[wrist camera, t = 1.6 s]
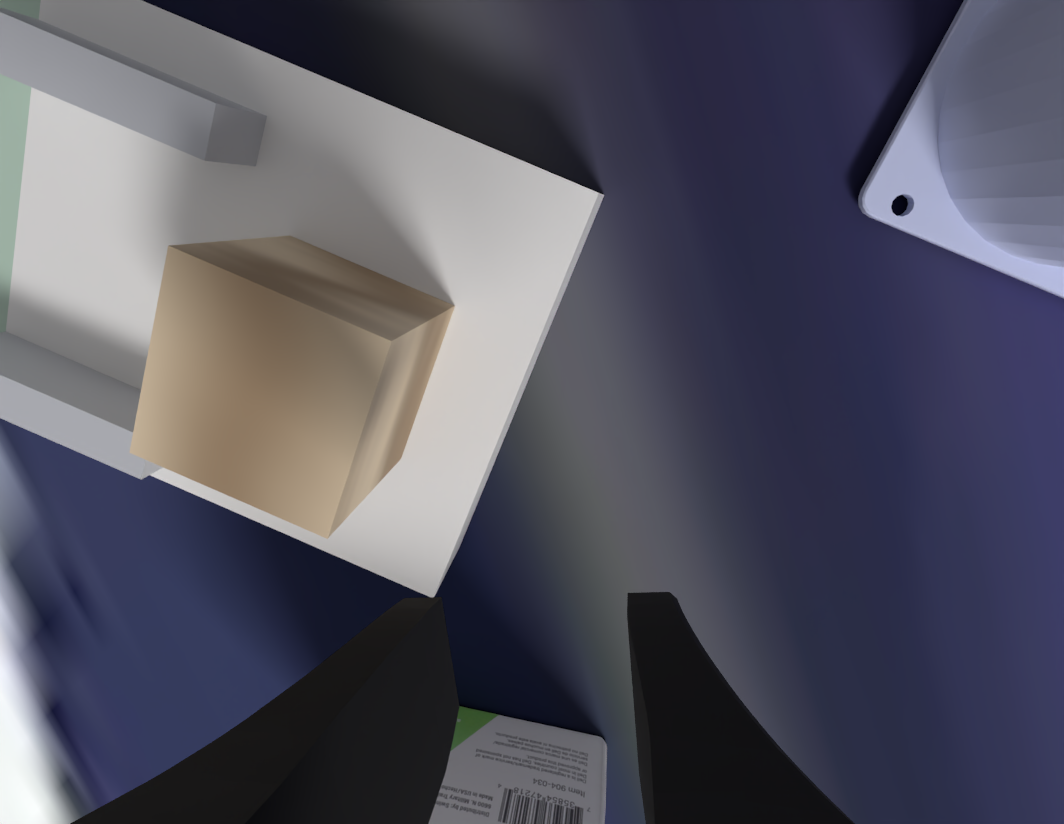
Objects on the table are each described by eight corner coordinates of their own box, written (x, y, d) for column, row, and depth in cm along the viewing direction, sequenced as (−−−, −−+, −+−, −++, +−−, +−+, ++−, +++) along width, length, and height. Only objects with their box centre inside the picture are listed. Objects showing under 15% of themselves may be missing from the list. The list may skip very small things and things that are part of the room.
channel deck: (604, 195, 18) (594, 191, 13) (459, 547, 22) (411, 642, 17) (-332, -199, 18) (-671, -342, 13) (-304, 216, 22) (-558, 218, 17)
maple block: (455, 305, 16) (391, 340, 12) (401, 458, 18) (327, 538, 13) (289, 235, 16) (168, 245, 12) (250, 393, 18) (129, 452, 13)
